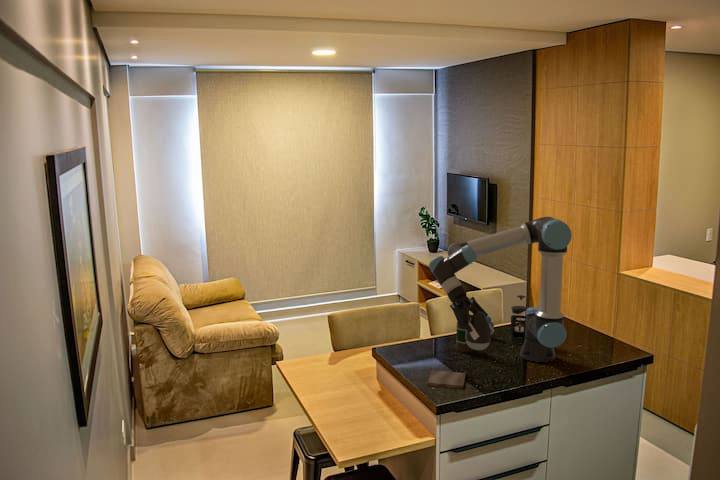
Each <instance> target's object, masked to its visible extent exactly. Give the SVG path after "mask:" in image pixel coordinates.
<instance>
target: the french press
mask: <svg viewBox="0 0 720 480" xmlns="http://www.w3.org/2000/svg"><path fill="white" fill-rule="evenodd" d="M516 297H517V298H519V300H520V301H523V299H525V298H526V296H525V295H521V294H519V295H516ZM528 308H530V307H528V306H526V305H525V306H524V305H522V304H520V305H514V306H511V313H512V315H511V316H510V333H509V340H510V341H512V342H516V343H524V341H525V328H526V315H522V313H524V312H526V311H527V309H528ZM523 319H524V320H523ZM517 324H523V326H521V325H519V326H518V325H517ZM518 337H522V338H518ZM510 341H509V342H510Z"/></svg>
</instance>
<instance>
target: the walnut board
mask: <svg viewBox="0 0 720 480" xmlns="http://www.w3.org/2000/svg"><path fill="white" fill-rule="evenodd" d="M466 374H467V373H466V372H458V371H457V372H456V371H455V372H454V371H446V370H436V369H435V370H433V369H432V370H431V371H430V375H429V377H428V381H427V386H432V387H442V388H449V389H451V388H452V389H460V390H461V389H462V390H463V389H464V385H465V380H466V376H467V375H466Z"/></svg>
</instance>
